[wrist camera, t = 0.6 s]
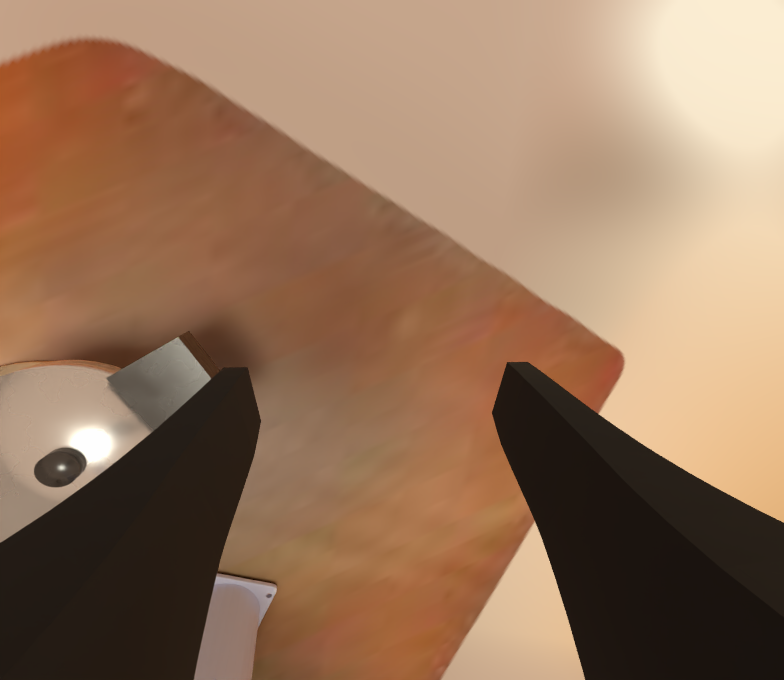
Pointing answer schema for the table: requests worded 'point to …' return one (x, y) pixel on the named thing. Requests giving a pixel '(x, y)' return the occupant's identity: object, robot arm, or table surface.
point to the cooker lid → (84, 421)
